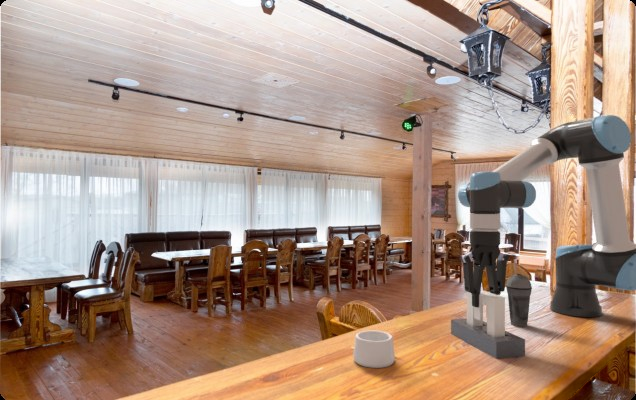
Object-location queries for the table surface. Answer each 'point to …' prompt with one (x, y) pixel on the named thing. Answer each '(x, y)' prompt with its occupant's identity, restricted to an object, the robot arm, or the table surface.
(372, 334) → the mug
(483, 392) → the table surface
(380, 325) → the table surface
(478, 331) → the cinder block
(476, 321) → the white arch
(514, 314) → the beverage cup
